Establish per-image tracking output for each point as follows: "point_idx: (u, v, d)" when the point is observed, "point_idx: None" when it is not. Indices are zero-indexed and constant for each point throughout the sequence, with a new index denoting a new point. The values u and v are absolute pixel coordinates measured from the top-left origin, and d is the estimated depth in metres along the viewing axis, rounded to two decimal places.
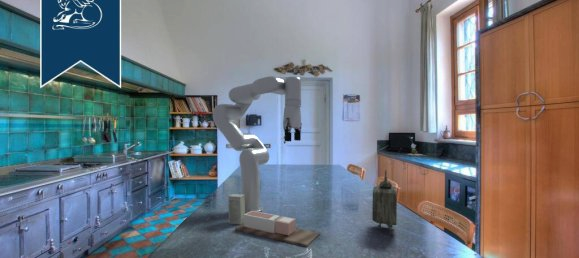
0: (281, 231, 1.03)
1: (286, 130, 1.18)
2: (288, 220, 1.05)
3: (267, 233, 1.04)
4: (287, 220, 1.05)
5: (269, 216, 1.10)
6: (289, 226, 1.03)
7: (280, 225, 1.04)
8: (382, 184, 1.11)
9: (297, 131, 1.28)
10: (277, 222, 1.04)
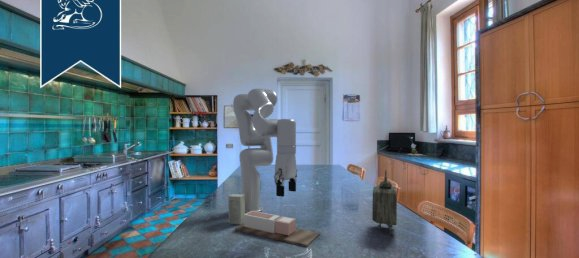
0: (281, 231, 1.03)
1: (278, 184, 1.00)
2: (288, 220, 1.05)
3: (267, 233, 1.04)
4: (287, 220, 1.05)
5: (269, 216, 1.10)
6: (289, 226, 1.03)
7: (280, 225, 1.04)
8: (382, 184, 1.11)
9: (292, 180, 1.10)
10: (277, 222, 1.04)
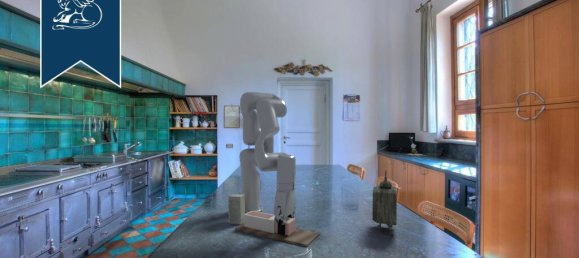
0: None
1: (279, 223, 1.01)
2: (288, 220, 1.05)
3: (267, 233, 1.04)
4: (287, 220, 1.05)
5: (269, 216, 1.10)
6: (289, 226, 1.03)
7: None
8: (382, 184, 1.11)
9: (289, 217, 1.09)
10: None
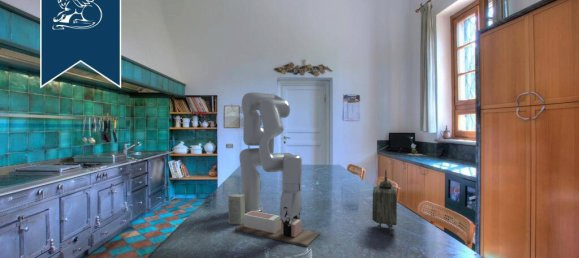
0: None
1: (285, 224, 1.00)
2: (294, 221, 1.04)
3: (267, 233, 1.04)
4: (293, 221, 1.04)
5: (269, 216, 1.10)
6: (295, 227, 1.01)
7: None
8: (382, 184, 1.11)
9: (295, 218, 1.07)
10: None
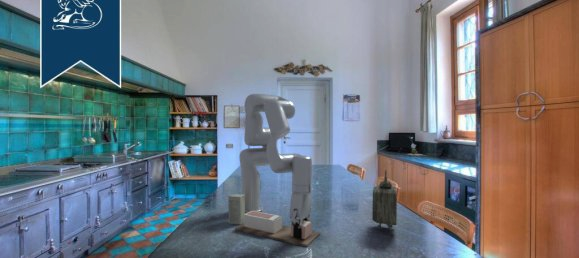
0: None
1: (295, 226, 0.98)
2: (304, 223, 1.02)
3: (267, 233, 1.04)
4: (303, 223, 1.02)
5: (269, 216, 1.10)
6: (306, 229, 0.99)
7: None
8: (382, 184, 1.11)
9: (305, 220, 1.05)
10: None
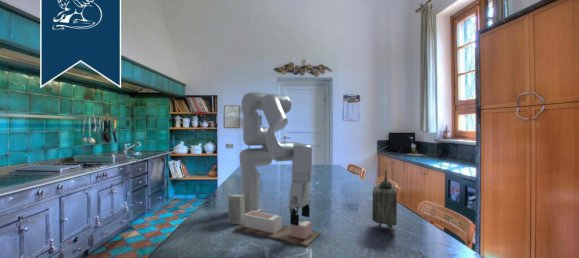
0: (297, 234, 1.00)
1: (293, 213, 0.97)
2: (304, 223, 1.02)
3: (267, 233, 1.04)
4: (303, 223, 1.02)
5: (269, 216, 1.10)
6: (305, 229, 0.99)
7: (296, 228, 1.00)
8: (382, 184, 1.11)
9: (305, 206, 1.07)
10: (293, 225, 1.01)
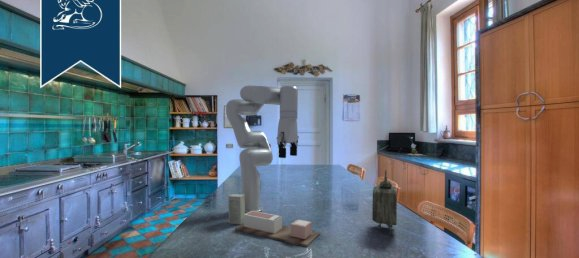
0: (297, 234, 1.00)
1: (280, 146, 1.06)
2: (304, 223, 1.02)
3: (267, 233, 1.04)
4: (303, 223, 1.02)
5: (269, 216, 1.10)
6: (305, 229, 0.99)
7: (296, 228, 1.00)
8: (382, 184, 1.11)
9: (293, 145, 1.16)
10: (293, 225, 1.01)
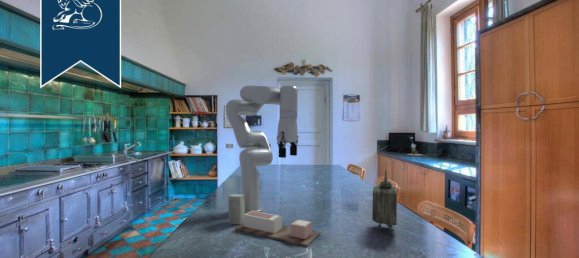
0: (297, 234, 1.00)
1: (280, 145, 1.06)
2: (304, 223, 1.02)
3: (267, 233, 1.04)
4: (303, 223, 1.02)
5: (269, 216, 1.10)
6: (305, 229, 0.99)
7: (296, 228, 1.00)
8: (382, 184, 1.11)
9: (293, 145, 1.16)
10: (293, 225, 1.01)
